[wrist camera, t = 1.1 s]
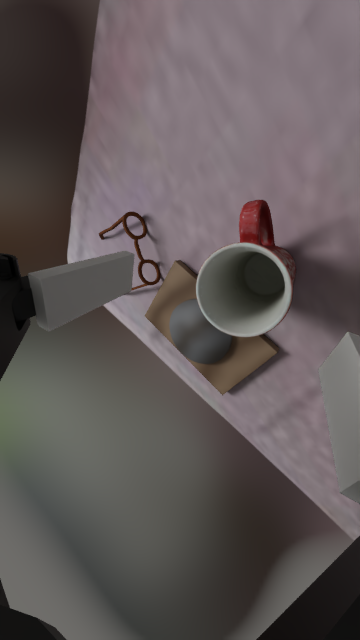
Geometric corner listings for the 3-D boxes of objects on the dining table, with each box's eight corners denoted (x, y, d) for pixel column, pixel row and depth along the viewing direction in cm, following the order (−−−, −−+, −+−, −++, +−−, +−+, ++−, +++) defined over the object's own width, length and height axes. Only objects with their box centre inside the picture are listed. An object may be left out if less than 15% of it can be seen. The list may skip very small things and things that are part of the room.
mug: (296, 308, 30) (281, 348, 19) (234, 299, 34) (194, 327, 24) (318, 207, 25) (314, 186, 14) (242, 211, 30) (197, 198, 19)
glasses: (164, 281, 41) (147, 286, 37) (121, 294, 49) (104, 299, 45) (143, 211, 39) (123, 209, 35) (102, 237, 47) (81, 237, 43)
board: (279, 348, 33) (276, 355, 31) (225, 390, 41) (220, 398, 39) (179, 260, 37) (171, 261, 35) (149, 313, 46) (141, 317, 44)
